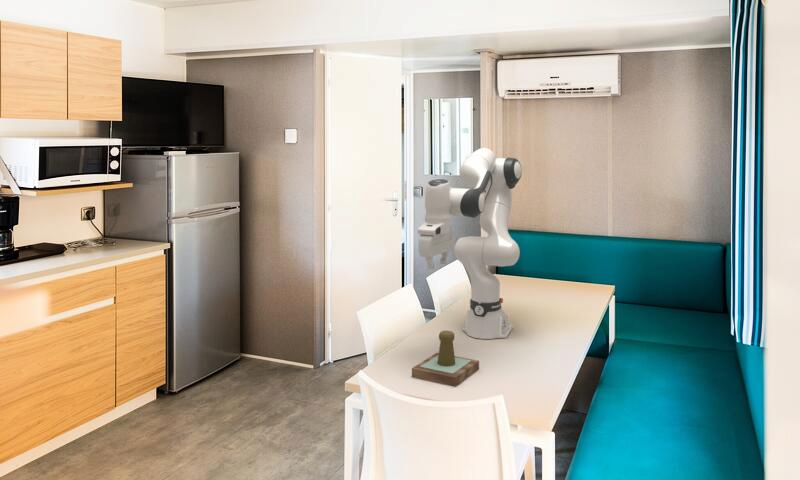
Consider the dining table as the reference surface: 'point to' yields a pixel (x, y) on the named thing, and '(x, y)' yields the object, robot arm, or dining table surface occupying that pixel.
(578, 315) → the dining table surface
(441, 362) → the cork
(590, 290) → the dining table surface
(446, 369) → the wooden tray
